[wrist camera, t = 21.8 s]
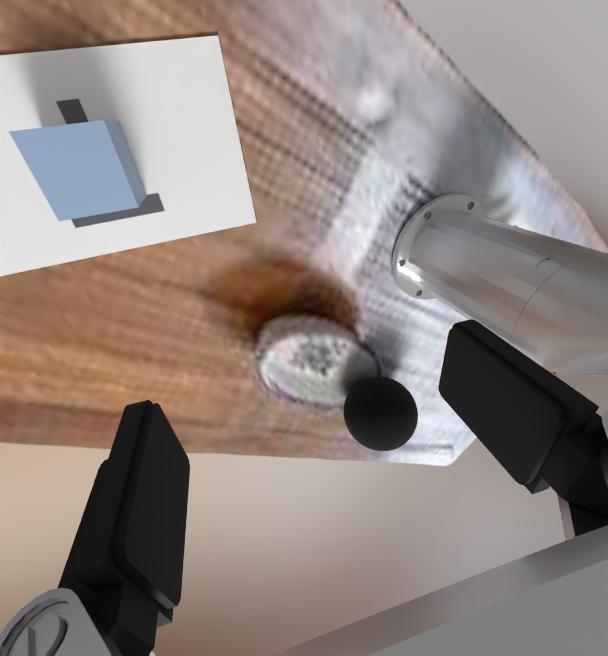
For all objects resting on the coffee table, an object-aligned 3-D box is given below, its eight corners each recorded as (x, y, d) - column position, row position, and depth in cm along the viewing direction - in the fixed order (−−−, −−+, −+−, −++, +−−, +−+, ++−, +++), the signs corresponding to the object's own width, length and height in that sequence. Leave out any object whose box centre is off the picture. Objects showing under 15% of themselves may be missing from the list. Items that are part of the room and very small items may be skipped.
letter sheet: (217, 35, 22) (218, 35, 21) (256, 221, 29) (256, 222, 29) (-165, 71, 18) (-169, 70, 17) (-6, 276, 25) (-8, 277, 25)
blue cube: (119, 121, 22) (103, 120, 18) (146, 195, 25) (138, 207, 21) (42, 131, 21) (8, 131, 17) (80, 206, 24) (59, 221, 20)
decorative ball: (323, 385, 44) (353, 443, 36) (383, 351, 44) (427, 400, 36) (345, 421, 50) (375, 477, 42) (398, 390, 50) (438, 440, 42)
